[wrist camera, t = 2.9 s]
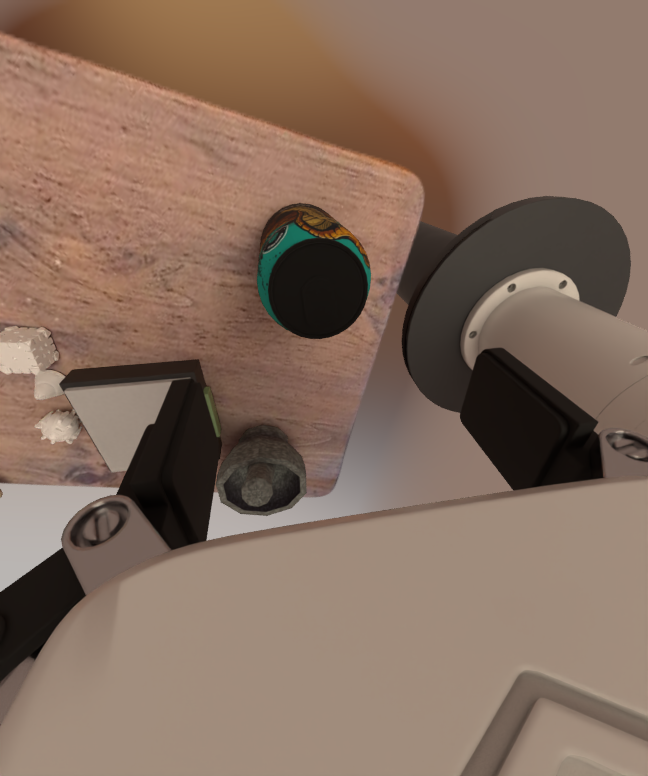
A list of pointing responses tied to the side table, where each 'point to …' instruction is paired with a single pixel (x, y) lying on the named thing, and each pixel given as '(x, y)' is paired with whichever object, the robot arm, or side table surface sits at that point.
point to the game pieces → (39, 376)
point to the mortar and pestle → (262, 473)
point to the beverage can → (311, 272)
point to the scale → (127, 403)
